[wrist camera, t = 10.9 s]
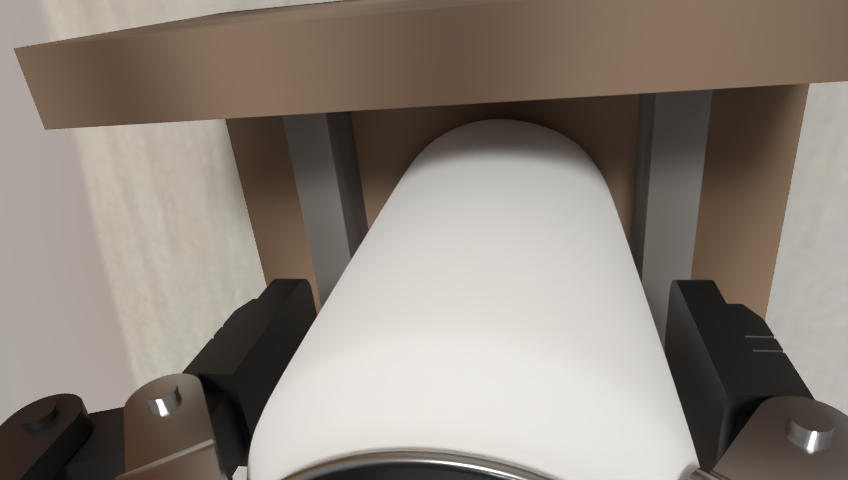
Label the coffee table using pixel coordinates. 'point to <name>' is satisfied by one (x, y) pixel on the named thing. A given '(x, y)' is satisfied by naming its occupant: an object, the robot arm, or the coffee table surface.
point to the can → (483, 333)
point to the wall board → (482, 112)
